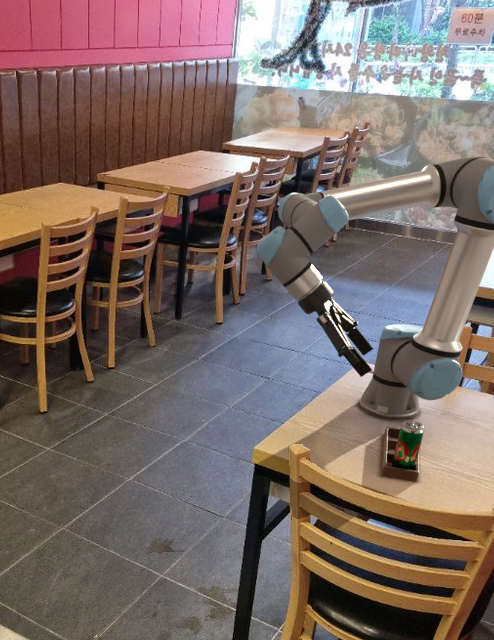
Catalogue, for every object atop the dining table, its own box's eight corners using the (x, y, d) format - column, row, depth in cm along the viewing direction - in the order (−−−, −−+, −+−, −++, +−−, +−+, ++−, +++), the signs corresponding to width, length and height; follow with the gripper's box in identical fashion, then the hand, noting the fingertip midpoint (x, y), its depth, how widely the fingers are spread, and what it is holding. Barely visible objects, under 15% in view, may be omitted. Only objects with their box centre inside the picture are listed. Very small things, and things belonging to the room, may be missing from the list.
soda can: (410, 466, 175) (421, 420, 169) (415, 476, 171) (427, 430, 164) (388, 464, 175) (399, 419, 169) (393, 475, 171) (404, 429, 165)
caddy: (383, 435, 189) (385, 426, 188) (415, 440, 187) (417, 431, 186) (381, 476, 171) (383, 466, 170) (416, 481, 169) (419, 472, 168)
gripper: (302, 286, 177) (355, 353, 181) (289, 317, 157) (350, 392, 161) (328, 265, 173) (382, 334, 177) (318, 295, 153) (380, 372, 157)
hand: (367, 362), depth 169 cm, fingers open, 13 cm apart
